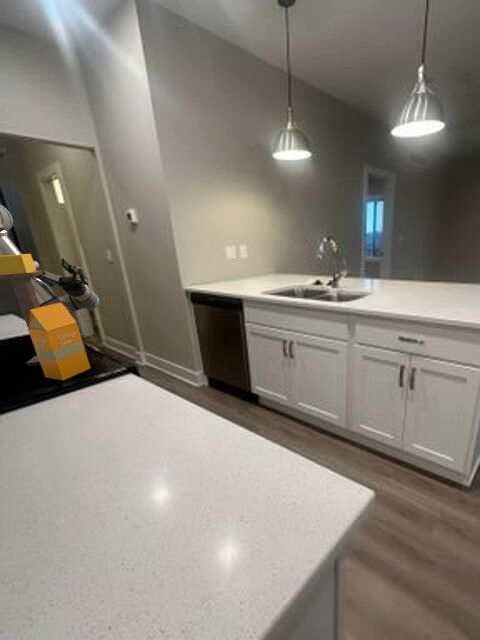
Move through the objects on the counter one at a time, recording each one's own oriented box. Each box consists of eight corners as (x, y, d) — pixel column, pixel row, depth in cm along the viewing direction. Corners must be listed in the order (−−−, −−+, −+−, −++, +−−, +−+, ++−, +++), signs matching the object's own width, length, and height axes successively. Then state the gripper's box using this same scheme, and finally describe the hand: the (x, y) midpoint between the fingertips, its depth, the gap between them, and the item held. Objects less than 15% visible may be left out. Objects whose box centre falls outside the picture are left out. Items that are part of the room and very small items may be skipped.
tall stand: (27, 366, 108) (-8, 275, 97) (36, 359, 114) (4, 273, 103) (62, 362, 110) (32, 272, 99) (69, 355, 116) (42, 270, 105)
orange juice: (44, 377, 99) (19, 309, 91) (73, 365, 106) (52, 301, 99) (63, 380, 96) (39, 310, 88) (91, 368, 103) (71, 302, 96)
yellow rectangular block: (-1, 275, 98) (-8, 257, 96) (23, 269, 111) (18, 253, 109) (27, 273, 99) (20, 255, 97) (48, 267, 112) (43, 251, 110)
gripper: (47, 281, 141) (12, 254, 119) (104, 279, 145) (81, 251, 123) (47, 299, 139) (12, 274, 118) (105, 295, 144) (81, 271, 122)
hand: (47, 262), depth 121 cm, fingers open, 9 cm apart
